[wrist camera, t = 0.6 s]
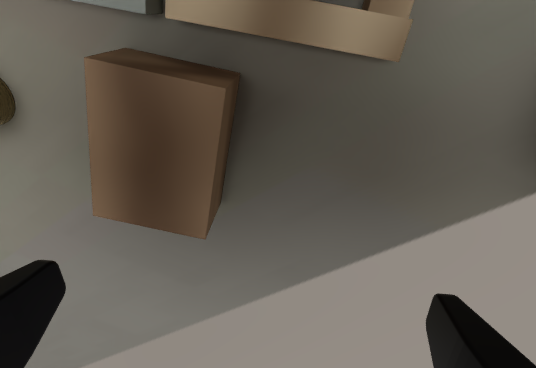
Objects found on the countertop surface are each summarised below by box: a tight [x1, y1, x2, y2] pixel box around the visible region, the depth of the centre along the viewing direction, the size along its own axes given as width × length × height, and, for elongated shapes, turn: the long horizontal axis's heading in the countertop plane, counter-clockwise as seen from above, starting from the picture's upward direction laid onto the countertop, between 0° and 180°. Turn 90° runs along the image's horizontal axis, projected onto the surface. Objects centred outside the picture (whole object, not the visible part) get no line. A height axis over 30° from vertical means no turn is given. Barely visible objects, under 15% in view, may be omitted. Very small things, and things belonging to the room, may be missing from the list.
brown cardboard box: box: [84, 48, 240, 239], centre depth 18 cm, size 6×8×4 cm
